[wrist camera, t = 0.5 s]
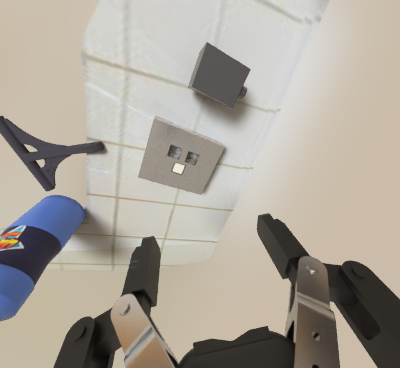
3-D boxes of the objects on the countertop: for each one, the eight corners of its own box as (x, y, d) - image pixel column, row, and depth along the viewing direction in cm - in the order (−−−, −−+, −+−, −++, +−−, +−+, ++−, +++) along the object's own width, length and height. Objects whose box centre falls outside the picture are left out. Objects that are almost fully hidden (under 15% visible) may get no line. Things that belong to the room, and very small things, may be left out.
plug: (198, 54, 26) (206, 42, 19) (238, 78, 28) (258, 74, 21) (187, 87, 28) (191, 86, 21) (225, 106, 30) (240, 111, 24)
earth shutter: (175, 161, 32) (175, 162, 31) (184, 164, 33) (184, 165, 32) (172, 169, 33) (172, 171, 32) (181, 172, 34) (181, 174, 33)
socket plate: (155, 115, 29) (154, 118, 27) (220, 142, 34) (224, 146, 31) (140, 170, 34) (138, 177, 32) (199, 187, 39) (200, 194, 36)
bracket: (118, 175, 35) (114, 181, 33) (49, 187, 34) (39, 195, 32) (85, 102, 28) (77, 104, 25) (-5, 116, 27) (-22, 119, 24)
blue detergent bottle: (93, 221, 39) (-9, 379, 18) (56, 229, 39) (-93, 397, 18) (71, 190, 34) (-106, 356, 13) (28, 199, 34) (-223, 381, 13)
